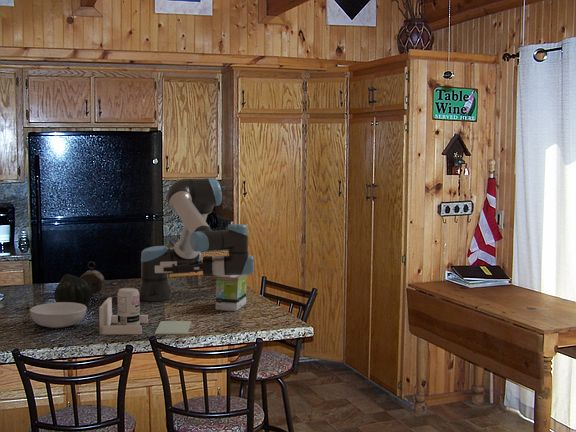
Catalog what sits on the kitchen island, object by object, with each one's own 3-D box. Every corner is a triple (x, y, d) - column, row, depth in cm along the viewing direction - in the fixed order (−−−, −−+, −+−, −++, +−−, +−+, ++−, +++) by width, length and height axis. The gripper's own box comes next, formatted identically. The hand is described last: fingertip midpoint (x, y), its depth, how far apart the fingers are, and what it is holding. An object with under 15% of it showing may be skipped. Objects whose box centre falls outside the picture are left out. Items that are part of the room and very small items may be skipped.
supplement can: (119, 325, 274) (119, 287, 273) (141, 325, 275) (140, 287, 274) (116, 331, 266) (115, 291, 265) (138, 330, 267) (138, 291, 266)
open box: (147, 322, 280) (147, 297, 279) (141, 334, 262) (141, 307, 261) (108, 322, 279) (108, 297, 278) (99, 334, 262) (99, 307, 261)
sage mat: (154, 334, 262) (154, 333, 262) (160, 322, 280) (160, 321, 280) (187, 334, 263) (187, 333, 263) (191, 322, 281) (191, 321, 281)
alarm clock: (105, 295, 327) (104, 260, 325) (101, 298, 322) (100, 262, 320) (82, 294, 328) (81, 260, 326) (77, 297, 323) (77, 262, 321)
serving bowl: (55, 335, 260) (55, 317, 259) (18, 327, 271) (18, 309, 270) (98, 323, 277) (98, 306, 277) (62, 316, 288) (61, 299, 288)
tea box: (237, 311, 300) (237, 277, 298) (215, 310, 302) (215, 275, 300) (246, 303, 314) (247, 270, 313) (225, 302, 316) (225, 269, 315)
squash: (100, 295, 303) (86, 266, 308) (69, 302, 292) (55, 272, 297) (88, 312, 311) (74, 284, 316) (57, 319, 300) (43, 290, 305)
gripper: (211, 279, 259) (152, 281, 258) (215, 271, 284) (162, 273, 283) (210, 259, 259) (152, 260, 258) (215, 253, 284) (162, 254, 283)
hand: (157, 267), depth 271 cm, fingers open, 13 cm apart
